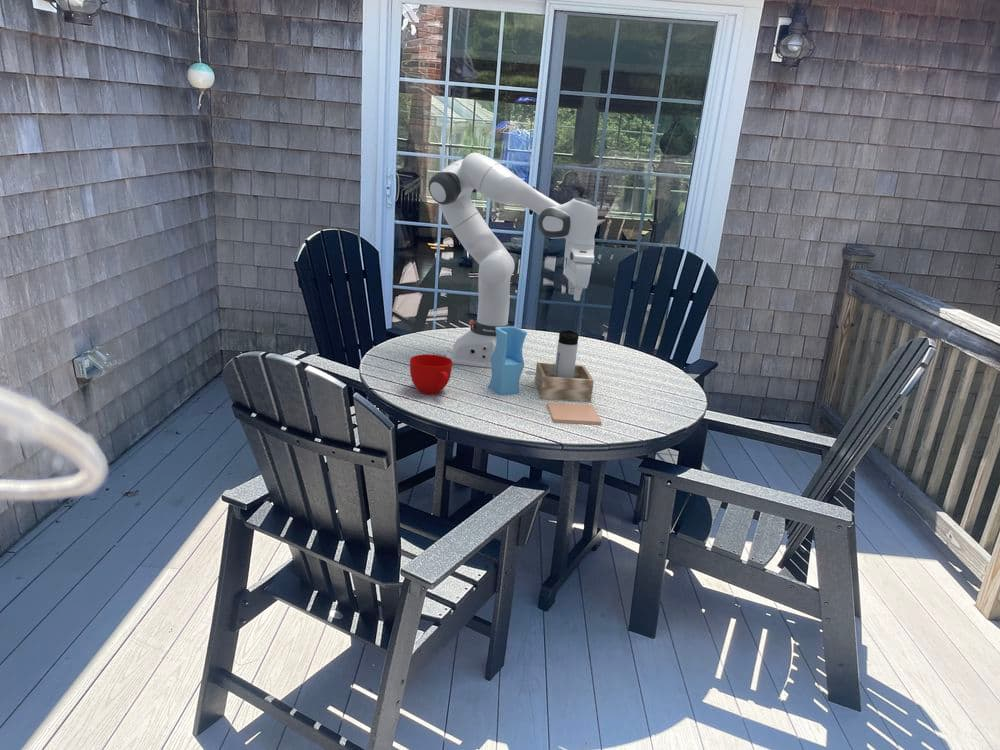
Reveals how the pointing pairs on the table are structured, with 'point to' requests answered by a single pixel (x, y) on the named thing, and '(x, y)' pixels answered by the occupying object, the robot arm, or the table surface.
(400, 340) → the table surface
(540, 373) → the frame
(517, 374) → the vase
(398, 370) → the table surface
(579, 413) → the terracotta tile
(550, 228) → the robot arm
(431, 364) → the ceramic cup
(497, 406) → the table surface
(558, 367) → the travel mug
